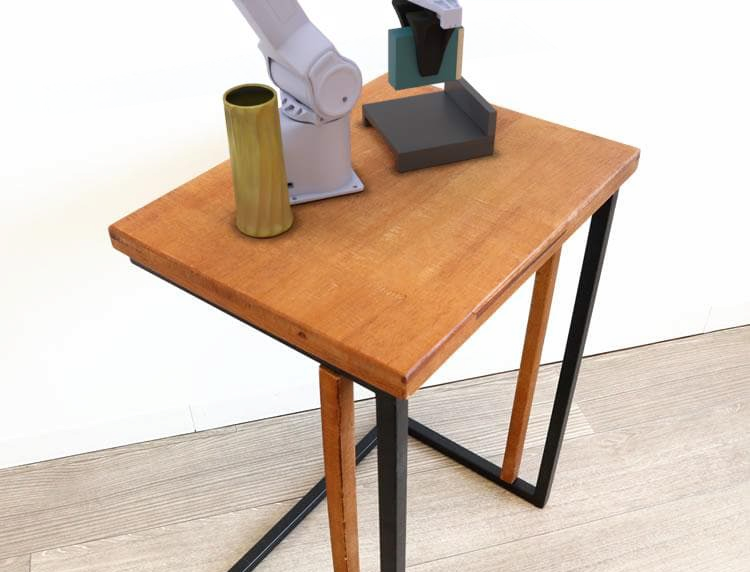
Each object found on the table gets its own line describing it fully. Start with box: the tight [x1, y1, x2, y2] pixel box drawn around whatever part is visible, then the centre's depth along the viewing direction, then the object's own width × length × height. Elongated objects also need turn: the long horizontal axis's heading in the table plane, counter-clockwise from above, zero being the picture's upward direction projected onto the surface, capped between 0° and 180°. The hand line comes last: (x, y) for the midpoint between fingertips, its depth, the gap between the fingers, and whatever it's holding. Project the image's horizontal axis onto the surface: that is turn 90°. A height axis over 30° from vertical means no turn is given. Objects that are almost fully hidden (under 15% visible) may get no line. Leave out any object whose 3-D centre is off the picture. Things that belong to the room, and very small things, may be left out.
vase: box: [222, 82, 295, 238], centre depth 85 cm, size 6×6×14 cm
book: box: [387, 24, 465, 91], centre depth 94 cm, size 3×8×6 cm, turn 110°
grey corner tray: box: [361, 75, 498, 174], centre depth 101 cm, size 12×13×6 cm
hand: (424, 69), depth 96 cm, fingers closed on book, 2 cm apart
